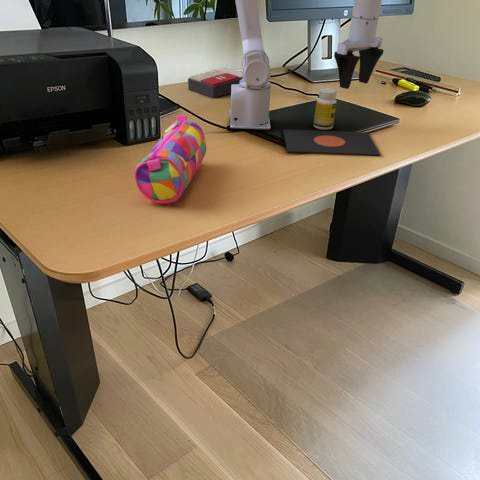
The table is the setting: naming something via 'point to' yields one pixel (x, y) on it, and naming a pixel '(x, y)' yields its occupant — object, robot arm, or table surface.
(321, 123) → the supplement bottle
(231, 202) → the table surface
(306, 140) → the desk mat
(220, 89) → the red and black box
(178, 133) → the pencil case
